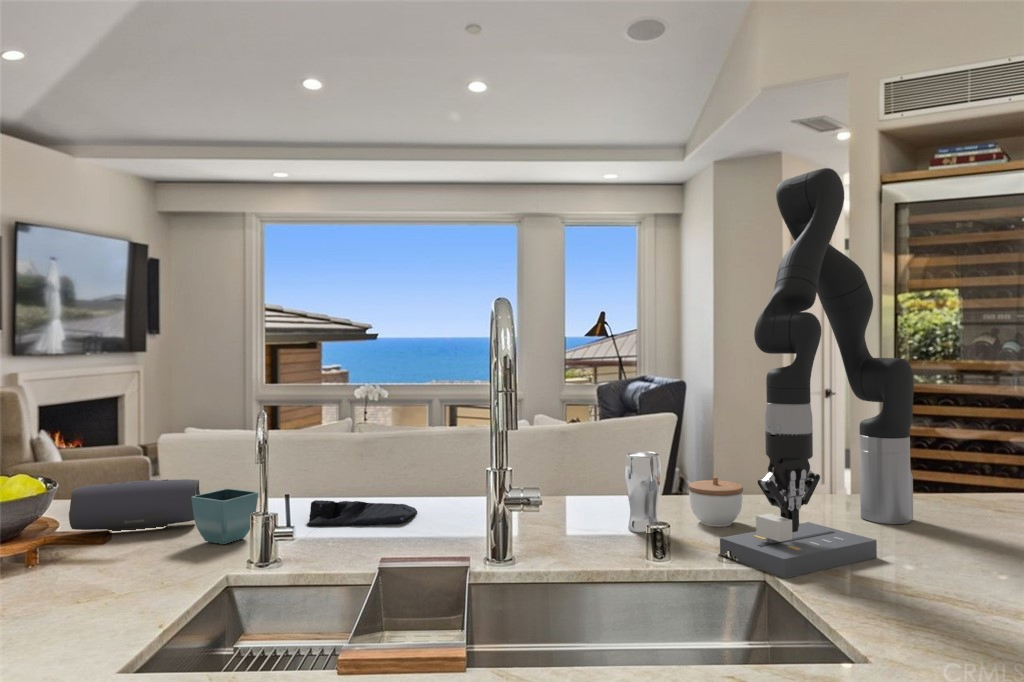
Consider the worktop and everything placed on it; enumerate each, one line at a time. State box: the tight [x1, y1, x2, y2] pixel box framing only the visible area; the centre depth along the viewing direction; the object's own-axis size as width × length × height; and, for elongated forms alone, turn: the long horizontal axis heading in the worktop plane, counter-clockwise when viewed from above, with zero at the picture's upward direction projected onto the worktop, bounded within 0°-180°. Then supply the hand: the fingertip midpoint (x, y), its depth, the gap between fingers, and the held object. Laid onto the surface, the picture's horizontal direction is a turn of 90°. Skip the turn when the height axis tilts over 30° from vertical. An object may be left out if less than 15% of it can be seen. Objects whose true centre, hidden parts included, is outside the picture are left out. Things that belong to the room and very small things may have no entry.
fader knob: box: [755, 513, 792, 543], centre depth 120 cm, size 3×5×4 cm, turn 27°
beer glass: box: [624, 451, 662, 535], centre depth 141 cm, size 7×7×15 cm
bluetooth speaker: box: [68, 478, 201, 531], centre depth 146 cm, size 23×9×10 cm, turn 108°
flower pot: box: [191, 488, 259, 545], centre depth 137 cm, size 9×9×9 cm
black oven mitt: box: [306, 499, 418, 527], centre depth 153 cm, size 15×22×5 cm
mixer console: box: [719, 521, 878, 579], centre depth 123 cm, size 22×14×3 cm, turn 117°
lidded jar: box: [688, 476, 744, 528], centre depth 146 cm, size 11×11×9 cm
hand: (789, 531), depth 122 cm, fingers closed
